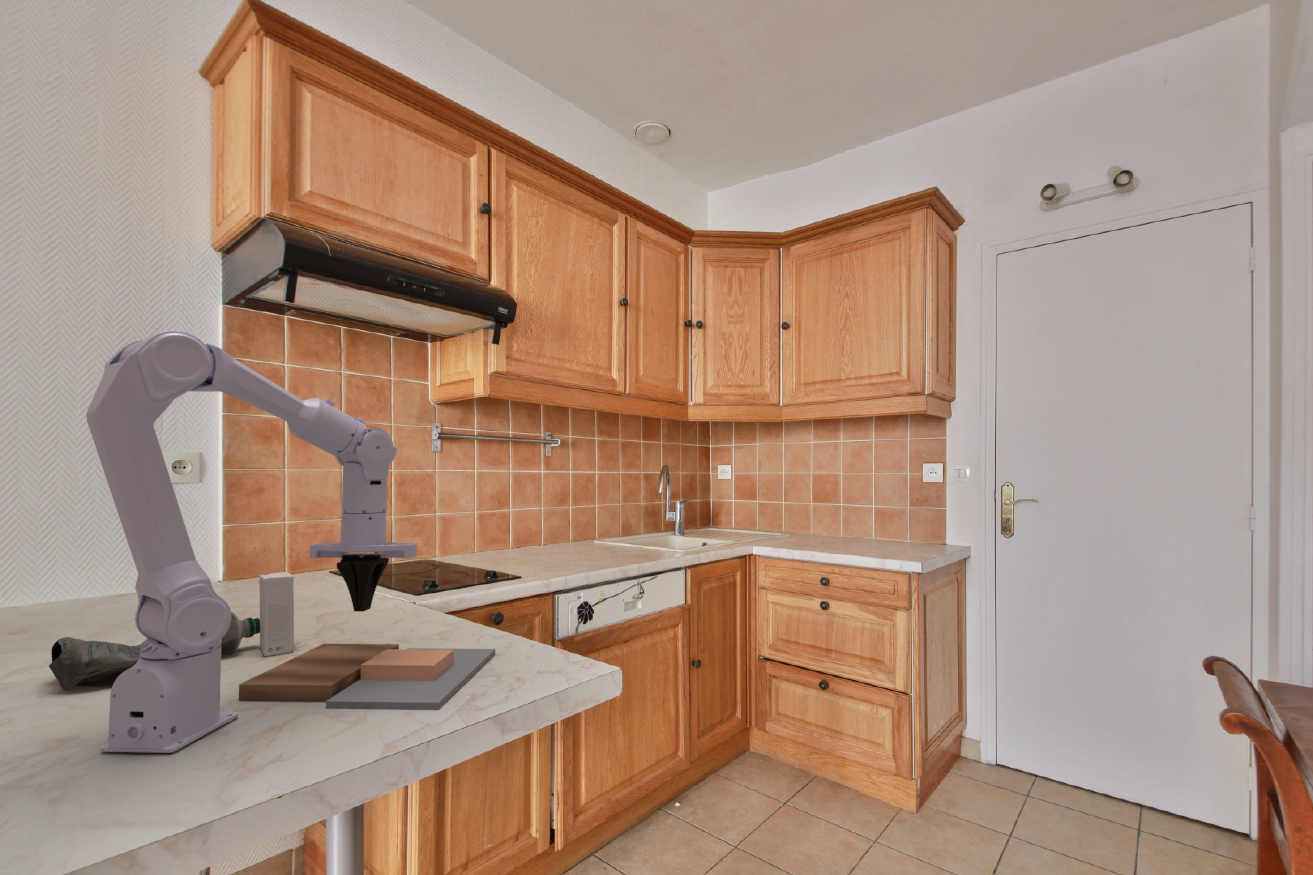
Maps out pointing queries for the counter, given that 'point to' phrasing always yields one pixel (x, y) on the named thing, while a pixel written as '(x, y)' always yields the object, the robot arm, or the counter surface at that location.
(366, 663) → the tile
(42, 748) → the counter surface
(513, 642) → the counter surface
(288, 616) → the skincare box
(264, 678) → the deck
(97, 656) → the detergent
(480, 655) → the mat
